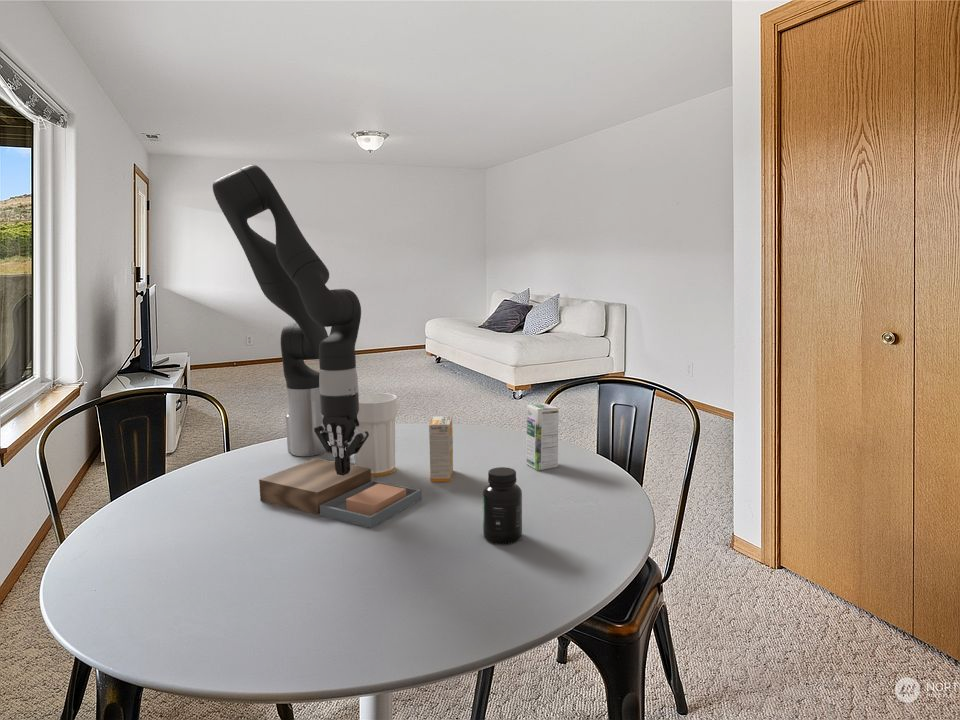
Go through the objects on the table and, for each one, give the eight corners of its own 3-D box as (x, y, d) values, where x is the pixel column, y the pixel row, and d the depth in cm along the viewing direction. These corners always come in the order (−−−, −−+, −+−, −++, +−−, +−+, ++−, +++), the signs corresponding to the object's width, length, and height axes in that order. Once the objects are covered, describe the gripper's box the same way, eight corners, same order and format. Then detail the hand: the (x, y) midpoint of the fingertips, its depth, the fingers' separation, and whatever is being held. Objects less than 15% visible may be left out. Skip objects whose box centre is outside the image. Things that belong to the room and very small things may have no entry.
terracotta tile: (374, 505, 120) (375, 518, 120) (406, 488, 128) (406, 500, 129) (345, 499, 123) (346, 511, 123) (378, 483, 132) (378, 494, 132)
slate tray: (320, 515, 123) (319, 505, 123) (373, 489, 137) (372, 480, 136) (371, 527, 117) (370, 517, 116) (421, 499, 130) (421, 489, 130)
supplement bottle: (476, 540, 111) (475, 474, 109) (494, 526, 117) (493, 463, 115) (512, 548, 108) (511, 480, 106) (528, 533, 114) (528, 468, 112)
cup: (390, 480, 142) (387, 403, 140) (343, 477, 145) (339, 402, 142) (406, 464, 153) (403, 393, 151) (361, 461, 155) (358, 392, 153)
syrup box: (525, 464, 152) (525, 404, 150) (546, 460, 154) (546, 402, 152) (537, 471, 147) (537, 409, 145) (559, 467, 149) (559, 407, 147)
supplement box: (451, 482, 140) (450, 424, 138) (429, 482, 140) (428, 424, 138) (454, 470, 148) (452, 415, 146) (433, 470, 149) (432, 415, 147)
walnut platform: (260, 500, 131) (259, 479, 130) (316, 477, 145) (315, 458, 144) (318, 514, 123) (317, 492, 122) (371, 488, 137) (370, 468, 136)
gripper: (300, 390, 127) (305, 474, 129) (351, 397, 120) (355, 485, 123) (327, 384, 133) (331, 464, 136) (377, 389, 127) (380, 473, 129)
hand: (343, 473), depth 129 cm, fingers closed
